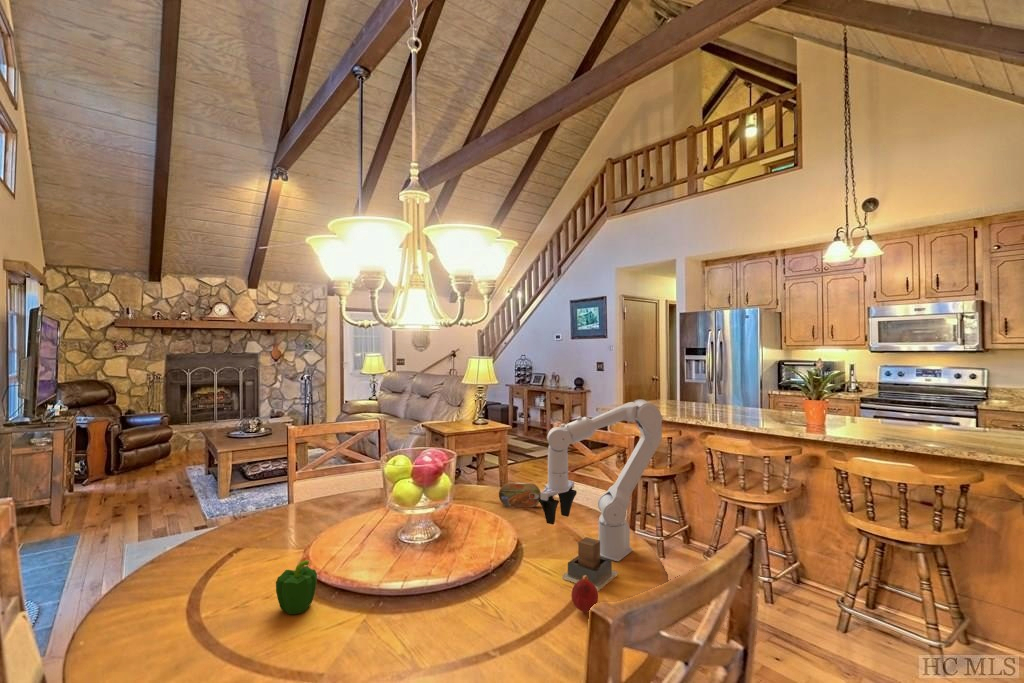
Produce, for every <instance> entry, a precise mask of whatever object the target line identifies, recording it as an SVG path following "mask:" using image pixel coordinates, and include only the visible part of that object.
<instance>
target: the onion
mask: <svg viewBox="0 0 1024 683" xmlns="http://www.w3.org/2000/svg"><path fill="white" fill-rule="evenodd" d="M598 592H599V591H597V589H596V587H595V586H594V584H593V583H592V582H591V581H589V580H588V577H587V576H586V575H584V576H583V578H582V580H580V581H578V582H577V583H574V585H573V587H572V590H571V600H572V603H573V605H574V606H575V608H576V609H577V610H579V611H580V612H581V613H584V614H587V613H589V612H590V611H591V610H590V608H591V607H592V606H593V605H594V604H596V603H597V604H598V601H599V593H598ZM597 604H596V605H597ZM589 610H590V611H589Z"/></svg>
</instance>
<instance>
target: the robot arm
mask: <svg viewBox="0 0 1024 683" xmlns="http://www.w3.org/2000/svg"><path fill="white" fill-rule="evenodd" d="M663 419H664V418H663V416H662V414H661V411H660V409H659V407H658V406H657V405H656V404H654V403H652V402H648V401H647V400H646V399H642V398H641V399H635V400H634V401H630V402H629V401H628V402H627V403H624V404H622V405H618V406H617V407H615V408H612V409H610V410H608V411H606V412H604V413H602V414H599V415H596V416H594V417H593V418H589V417H587V416H583V417H582V416H580V415H579V416H576V420H573V421H571V422H569V423H568V422H567V423H561V424H560V426H555V427H554V426H553V427H552V428H551V429H550V430H549V431H548V433H547V436H546V440H547V443H548V448H547V449H548V450H547V452H548V453H547V483H545V484H544V489H543V490H542V491H540V492H541V496H540V497H539V504H540V506H541V508H542V510H543V513H544V517H545V521H546V524H549V525H552V526H553V525H554V524H555V522H556V513H557V512H556V511H557V509H558V505H560V506H559V508H560V514H561V516H563V517H569V516H570V513H571V508H572V504H573V502H574V499H575V497H576V496H577V495H578V494H577V493H578V492H577V490H576V489H575V481H573V480H569V454H568V448H569V446H570V445H574V444H576V443H578V442H580V441H584V440H586V439H589V438H591V437H594V434H595V433H596V430H598V429H601V428H604V427H608V426H611V425H613V424H616V423H618V422H622V421H625V422H628V423H629V422H630V423H636V424H637V428H638V430H639V433H640V435H641V436H640V438H639V440H638V442H637V444H636V445H635V446H634V449H633V451H632V452H631V454H630V456H629V457H628V460H627V461H626V463H625V465H624V467H623V468H622V469H621V471H620V473H619V475H618V477H617V479H616V481H615V482H614V484H613V485H611V486H610V487H609V488H608V490H607V491H606V492H605V493H603V494H602V495H600V497H599V498H598V501H597V506H598V510H599V512H600V515H599V518H598V540H599V541H600V557H603V558H606V559H609V560H612V561H615V562H620V561H621V560H623V559H624V558H625V557H626V556H628V555H629V554H630V553H632V552H633V551H634V550H633V548H632V547H631V546H630V544H631V543H630V541H631V540H630V539H631V538H630V537H631V535H630V534H631V530H630V529H631V528H630V525H629V523H628V521H627V520H626V519H627V511H628V509H629V506H630V501H631V495H632V494H633V491H634V490H635V489H636V486H637V484H638V482H640V479H641V478H642V475H644V472H645V471H646V469H647V467H648V465H649V463H650V462H651V459H652V458H653V456H654V454H655V453H656V451H657V449H658V448H659V446H660V444H661V442H662V440H663V433H662V431H663V429H662V427H663V425H662V422H663ZM555 496H558V498H559V499H555V498H554V497H555Z"/></svg>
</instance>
